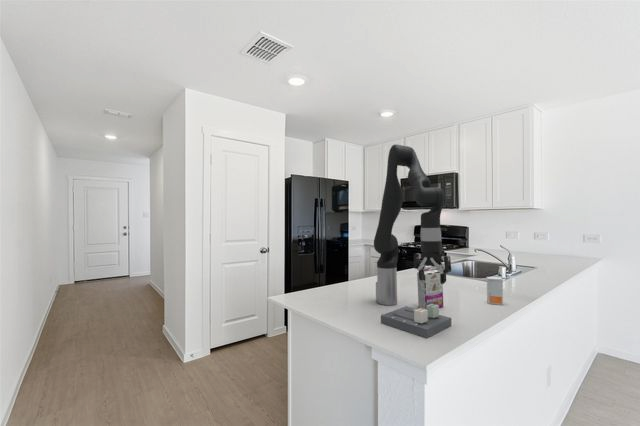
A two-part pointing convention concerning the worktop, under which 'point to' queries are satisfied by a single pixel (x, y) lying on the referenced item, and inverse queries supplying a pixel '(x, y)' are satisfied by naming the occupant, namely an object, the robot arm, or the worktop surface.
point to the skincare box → (495, 290)
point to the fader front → (420, 315)
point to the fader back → (433, 310)
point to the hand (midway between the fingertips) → (432, 281)
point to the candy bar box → (430, 289)
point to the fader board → (406, 322)
